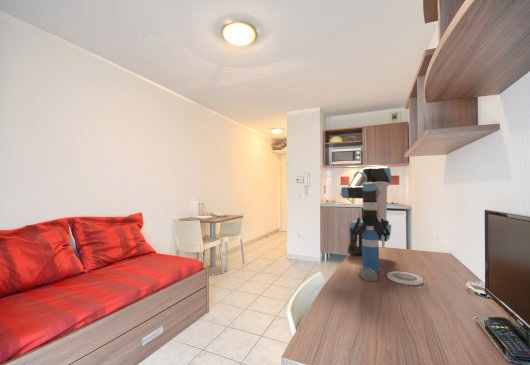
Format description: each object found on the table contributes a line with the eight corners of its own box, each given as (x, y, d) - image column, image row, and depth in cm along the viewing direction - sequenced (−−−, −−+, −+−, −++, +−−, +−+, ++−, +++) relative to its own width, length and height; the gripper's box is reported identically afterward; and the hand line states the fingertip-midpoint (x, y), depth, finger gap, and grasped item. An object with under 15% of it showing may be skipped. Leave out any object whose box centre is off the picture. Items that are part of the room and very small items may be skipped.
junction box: (359, 275, 129) (359, 266, 129) (370, 275, 129) (370, 266, 129) (364, 280, 121) (364, 271, 121) (376, 280, 121) (376, 272, 121)
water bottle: (382, 272, 132) (382, 227, 133) (365, 272, 132) (365, 227, 133) (375, 267, 141) (374, 224, 142) (359, 267, 142) (358, 224, 142)
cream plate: (383, 272, 133) (383, 270, 133) (415, 274, 129) (415, 272, 129) (392, 283, 117) (392, 281, 117) (429, 286, 114) (429, 284, 114)
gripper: (347, 209, 137) (348, 247, 136) (395, 210, 131) (396, 249, 131) (346, 208, 144) (346, 244, 143) (391, 209, 139) (392, 246, 138)
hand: (370, 246), depth 137 cm, fingers open, 13 cm apart
